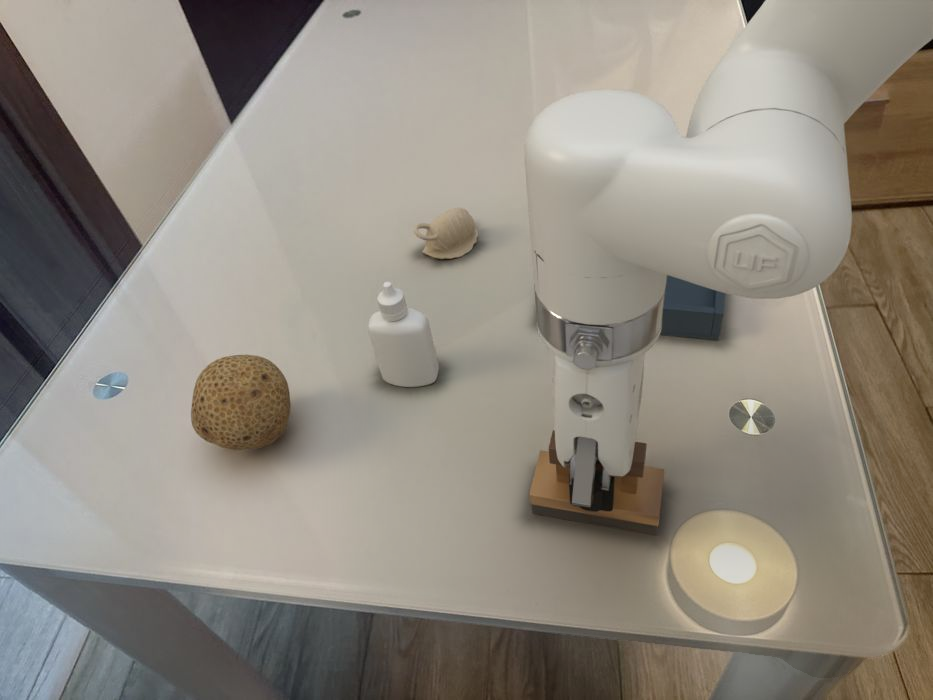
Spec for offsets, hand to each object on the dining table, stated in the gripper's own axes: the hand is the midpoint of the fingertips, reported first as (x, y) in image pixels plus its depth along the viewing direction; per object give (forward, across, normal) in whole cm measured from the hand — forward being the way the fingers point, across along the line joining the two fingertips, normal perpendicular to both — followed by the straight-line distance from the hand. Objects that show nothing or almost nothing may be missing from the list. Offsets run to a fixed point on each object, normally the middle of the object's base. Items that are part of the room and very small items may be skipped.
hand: (596, 474), depth 55 cm
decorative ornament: (+4, +31, +22) cm, 38 cm away
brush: (+4, 0, 0) cm, 4 cm away
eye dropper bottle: (+4, +11, +20) cm, 23 cm away
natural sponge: (+4, +1, +32) cm, 32 cm away
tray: (+4, +31, 0) cm, 31 cm away
